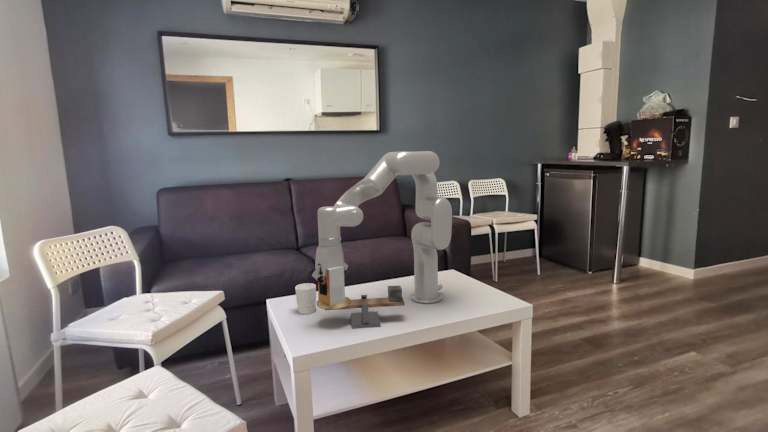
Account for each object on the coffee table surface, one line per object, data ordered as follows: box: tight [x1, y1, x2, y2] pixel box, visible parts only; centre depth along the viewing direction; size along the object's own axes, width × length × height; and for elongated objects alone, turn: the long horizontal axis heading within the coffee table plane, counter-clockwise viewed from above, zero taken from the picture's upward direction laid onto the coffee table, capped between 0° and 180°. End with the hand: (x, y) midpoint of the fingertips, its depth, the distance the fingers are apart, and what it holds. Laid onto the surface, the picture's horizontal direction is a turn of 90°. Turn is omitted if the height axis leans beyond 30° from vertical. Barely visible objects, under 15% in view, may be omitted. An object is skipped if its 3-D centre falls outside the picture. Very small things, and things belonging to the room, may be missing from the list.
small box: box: [317, 266, 346, 306], centre depth 145 cm, size 8×6×13 cm
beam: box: [316, 285, 405, 311], centre depth 147 cm, size 31×12×6 cm, turn 95°
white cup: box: [294, 282, 317, 315], centre depth 158 cm, size 8×8×10 cm
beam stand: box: [350, 294, 382, 329], centre depth 147 cm, size 10×12×8 cm
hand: (331, 291), depth 145 cm, fingers closed on small box, 6 cm apart
